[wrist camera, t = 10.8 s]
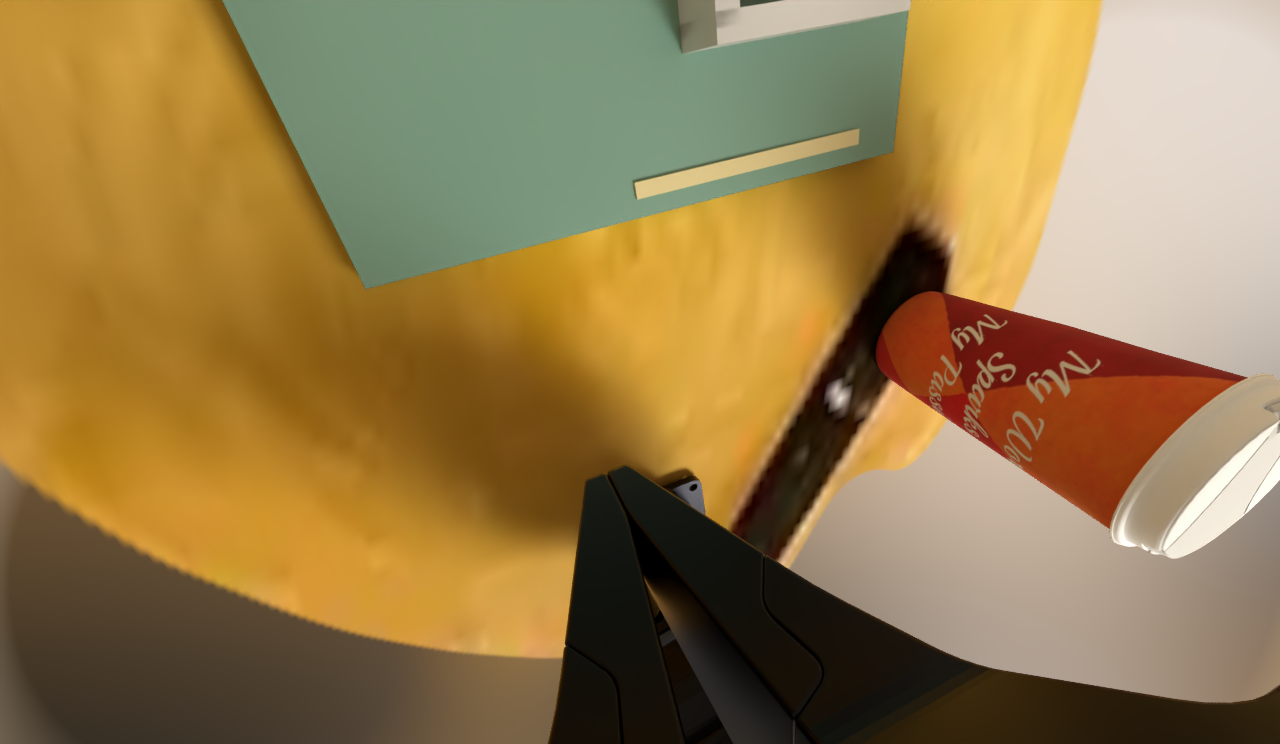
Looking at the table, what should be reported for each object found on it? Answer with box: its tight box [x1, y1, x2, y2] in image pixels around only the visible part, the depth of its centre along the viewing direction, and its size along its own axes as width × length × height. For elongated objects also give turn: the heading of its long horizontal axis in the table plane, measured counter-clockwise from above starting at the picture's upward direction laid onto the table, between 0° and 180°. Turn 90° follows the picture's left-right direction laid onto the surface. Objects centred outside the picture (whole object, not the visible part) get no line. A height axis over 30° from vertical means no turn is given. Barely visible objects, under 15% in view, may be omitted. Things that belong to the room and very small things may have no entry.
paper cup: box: [875, 291, 1280, 558], centre depth 22 cm, size 8×8×14 cm
